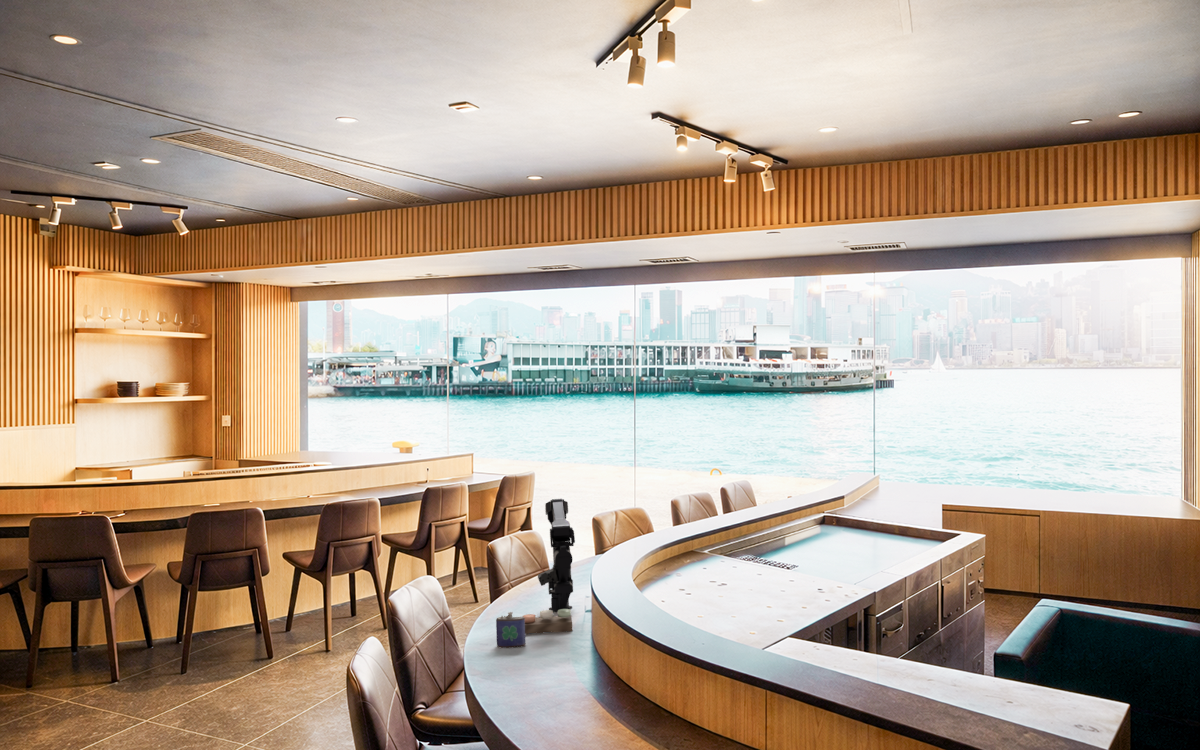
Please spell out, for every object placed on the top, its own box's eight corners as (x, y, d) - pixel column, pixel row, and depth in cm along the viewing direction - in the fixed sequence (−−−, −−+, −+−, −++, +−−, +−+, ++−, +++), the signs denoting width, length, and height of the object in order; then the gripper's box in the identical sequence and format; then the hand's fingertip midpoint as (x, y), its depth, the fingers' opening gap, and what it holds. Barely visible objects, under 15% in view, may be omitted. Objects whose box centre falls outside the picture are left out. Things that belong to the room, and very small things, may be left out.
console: (521, 634, 240) (521, 625, 240) (522, 627, 248) (522, 618, 248) (572, 631, 241) (572, 622, 241) (571, 623, 249) (571, 615, 249)
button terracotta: (522, 623, 241) (522, 618, 242) (522, 619, 246) (522, 614, 246) (535, 622, 242) (535, 617, 242) (535, 618, 246) (535, 613, 246)
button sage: (557, 617, 243) (557, 612, 243) (557, 614, 247) (557, 609, 247) (570, 616, 243) (570, 612, 243) (570, 613, 247) (570, 608, 247)
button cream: (540, 618, 242) (539, 614, 242) (540, 615, 246) (540, 610, 246) (553, 618, 242) (552, 613, 242) (553, 614, 247) (552, 609, 247)
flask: (526, 644, 229) (524, 610, 230) (524, 647, 226) (523, 613, 227) (497, 645, 230) (496, 611, 230) (495, 648, 227) (494, 614, 227)
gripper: (538, 557, 254) (540, 601, 254) (538, 569, 236) (540, 617, 235) (570, 555, 255) (571, 599, 255) (572, 567, 237) (574, 615, 236)
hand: (563, 607), depth 245 cm, fingers closed
